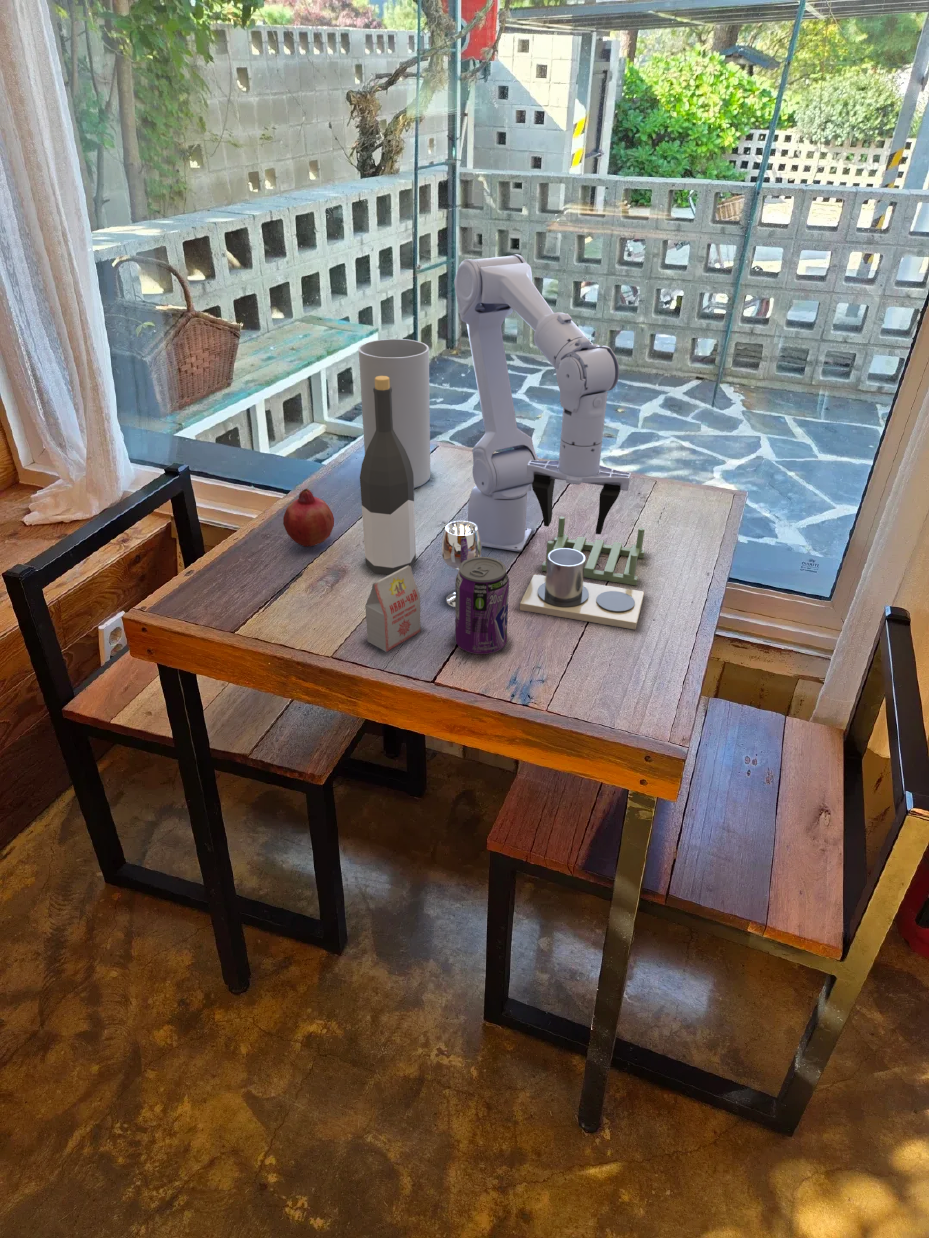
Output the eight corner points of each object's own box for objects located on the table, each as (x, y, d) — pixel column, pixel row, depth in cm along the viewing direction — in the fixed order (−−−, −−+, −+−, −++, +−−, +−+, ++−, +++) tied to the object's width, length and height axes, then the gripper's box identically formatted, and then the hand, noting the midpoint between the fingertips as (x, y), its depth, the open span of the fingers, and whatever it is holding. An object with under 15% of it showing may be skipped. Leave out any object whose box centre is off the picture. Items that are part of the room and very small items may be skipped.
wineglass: (452, 614, 120) (452, 540, 113) (435, 595, 124) (434, 524, 118) (487, 604, 122) (489, 532, 115) (469, 586, 126) (470, 516, 120)
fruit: (343, 548, 136) (339, 493, 131) (297, 560, 133) (291, 504, 127) (324, 529, 142) (318, 475, 136) (279, 540, 138) (272, 485, 133)
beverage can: (489, 664, 110) (492, 587, 103) (445, 648, 113) (444, 572, 106) (515, 639, 115) (519, 564, 108) (472, 623, 118) (473, 550, 111)
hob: (519, 610, 121) (519, 601, 120) (533, 580, 128) (534, 572, 127) (635, 630, 117) (637, 621, 116) (643, 598, 124) (644, 589, 123)
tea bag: (367, 641, 114) (363, 579, 108) (402, 621, 118) (399, 560, 113) (386, 651, 112) (383, 588, 106) (420, 631, 116) (419, 569, 111)
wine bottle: (387, 547, 137) (378, 366, 120) (426, 561, 133) (422, 376, 116) (355, 566, 131) (341, 379, 115) (394, 581, 127) (385, 390, 111)
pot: (541, 598, 121) (543, 562, 117) (549, 580, 125) (552, 545, 122) (578, 604, 119) (582, 568, 116) (585, 586, 124) (588, 551, 121)
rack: (541, 570, 131) (543, 542, 128) (554, 542, 139) (556, 515, 136) (636, 585, 127) (640, 557, 124) (644, 555, 135) (648, 528, 132)
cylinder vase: (441, 472, 163) (440, 344, 149) (412, 496, 153) (408, 361, 140) (385, 461, 167) (380, 336, 154) (354, 484, 158) (345, 352, 144)
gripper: (523, 442, 112) (518, 531, 119) (630, 456, 108) (618, 547, 116) (535, 425, 117) (530, 511, 125) (637, 437, 114) (625, 525, 121)
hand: (573, 527), depth 121 cm, fingers open, 7 cm apart
